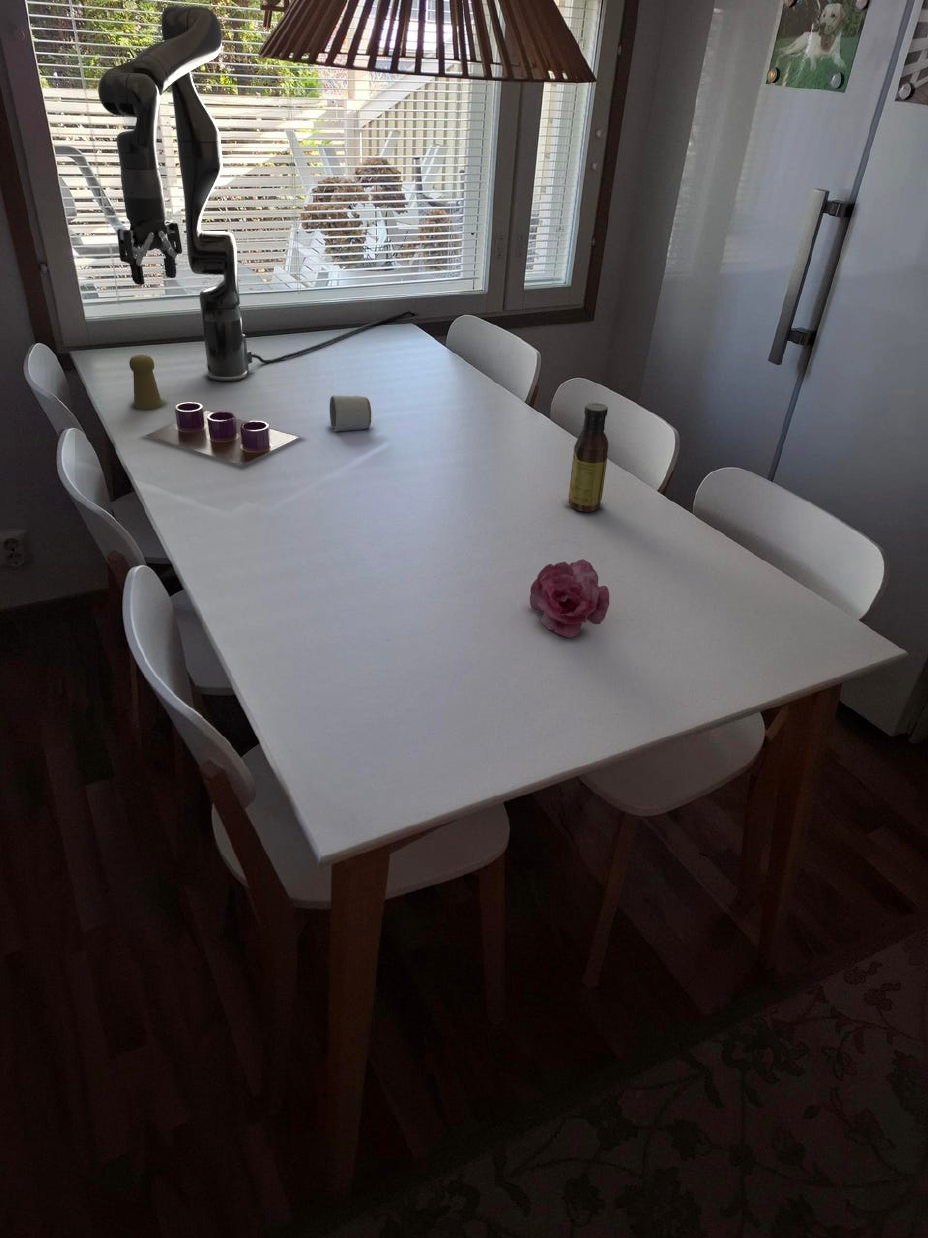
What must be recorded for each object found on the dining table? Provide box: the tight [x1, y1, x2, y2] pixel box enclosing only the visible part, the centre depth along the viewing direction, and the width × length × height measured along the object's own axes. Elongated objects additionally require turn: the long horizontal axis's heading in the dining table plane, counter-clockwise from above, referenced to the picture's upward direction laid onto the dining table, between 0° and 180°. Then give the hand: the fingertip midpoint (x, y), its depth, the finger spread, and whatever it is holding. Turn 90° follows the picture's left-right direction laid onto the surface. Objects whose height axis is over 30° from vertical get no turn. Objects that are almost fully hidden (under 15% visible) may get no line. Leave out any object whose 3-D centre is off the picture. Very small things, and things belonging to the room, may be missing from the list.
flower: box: [529, 559, 610, 638], centre depth 127 cm, size 11×10×10 cm
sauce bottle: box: [568, 402, 609, 513], centre depth 157 cm, size 6×6×20 cm
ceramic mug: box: [329, 394, 372, 432], centre depth 187 cm, size 11×8×8 cm
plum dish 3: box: [240, 420, 270, 451], centre depth 175 cm, size 6×6×4 cm
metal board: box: [145, 410, 300, 466], centre depth 180 cm, size 18×26×1 cm
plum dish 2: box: [207, 410, 237, 441], centre depth 179 cm, size 6×6×4 cm
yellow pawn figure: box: [128, 354, 163, 410], centre depth 191 cm, size 6×6×11 cm
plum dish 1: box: [174, 401, 205, 432], centre depth 182 cm, size 6×6×4 cm
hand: (155, 280), depth 176 cm, fingers open, 8 cm apart
